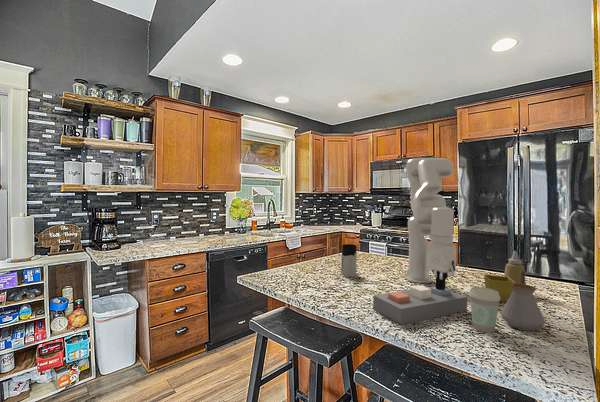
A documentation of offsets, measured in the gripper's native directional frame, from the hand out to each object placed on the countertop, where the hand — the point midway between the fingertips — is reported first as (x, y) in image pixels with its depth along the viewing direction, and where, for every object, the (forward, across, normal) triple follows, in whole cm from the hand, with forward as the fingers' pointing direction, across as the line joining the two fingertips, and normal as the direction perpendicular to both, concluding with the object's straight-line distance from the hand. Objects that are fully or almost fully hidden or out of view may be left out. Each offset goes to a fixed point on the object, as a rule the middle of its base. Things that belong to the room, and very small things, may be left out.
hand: (440, 288), depth 112 cm
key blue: (+5, 0, 0) cm, 5 cm away
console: (+7, 0, -10) cm, 12 cm away
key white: (+4, 0, -10) cm, 11 cm away
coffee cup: (+7, +19, -3) cm, 20 cm away
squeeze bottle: (+7, 0, +45) cm, 45 cm away
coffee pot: (+7, +20, +15) cm, 26 cm away
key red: (+5, 0, -20) cm, 21 cm away
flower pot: (+7, +4, +28) cm, 29 cm away
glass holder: (+7, -53, -9) cm, 54 cm away
